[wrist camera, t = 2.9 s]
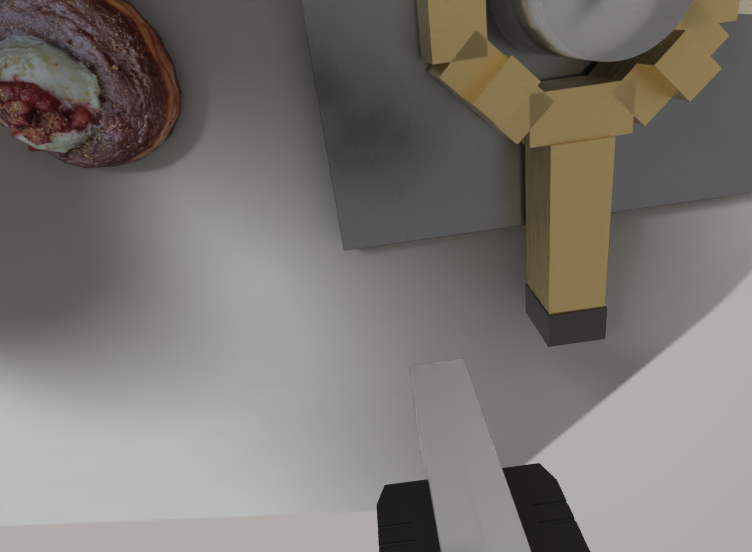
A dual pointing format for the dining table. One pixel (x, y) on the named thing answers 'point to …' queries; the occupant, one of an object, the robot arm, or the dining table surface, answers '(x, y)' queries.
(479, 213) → the base plate
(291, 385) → the dining table surface
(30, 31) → the pastry
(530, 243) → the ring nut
